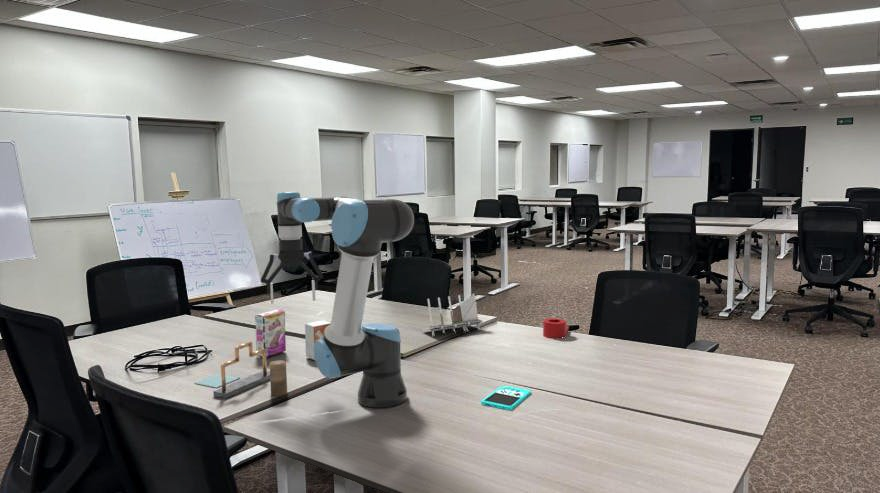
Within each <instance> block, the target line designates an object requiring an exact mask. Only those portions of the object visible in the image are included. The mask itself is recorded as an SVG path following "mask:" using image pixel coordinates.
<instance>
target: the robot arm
mask: <svg viewBox="0 0 880 493" xmlns="http://www.w3.org/2000/svg"><path fill="white" fill-rule="evenodd" d="M276 208H277V210H276V211H277V225H278V226H277V228H278V229H277V230H278V238H279V240H278V248H279V249H278V251H279V252H278V253H277V254H276V253H270V254H269V261H268V263H267V265H266V266H265V269H264V272H263V274H262V276H261V278H260V282H261V283H263V284H265V285H266V293H267V294H270V302H271V304H273V305H274V288H273V287H274V285H273V282H272V281H274V279H275V278H276V276H277V275H278V274H279V273H280V271H281V270H282V269H283V268H284V267H289V268H290V267H297V266H300V267H301V268H302V269H303V270H304V271H305V272H306V273H307V274H308V275H309V276H310V278H312V280H311V295H312V301H313V302H314V301H316V291H318V290H319V281H320V280H323V279H324V275H323V274H322V272H321V270H320V268H319V266H318V264H317V263H316V261H315V259H314V256H313V255H314V254H313V253H312V251H308V252H304V251H303V239H302V237H303V231H302V230H303V229H302V223H304V224H305V223H312V222H321V221H331V223H330V224H331V225H330V230H332V231H331V236H332V237H331V238H332V239H333V241H334V243H335V244H336V245H337V249H338V250H339V252H341V256H340V263H339V269H338V275H337V282H336V288H335V289H336V290H335V295H334V296H335V297H334V301H333V307H332V308H333V309H332V316H331V321H330V323H331V325H329V326H327V327H326V329H325V331H324V337H323V339H318V340H317V341H315V343H314V357H315V360H314V361H315V364H316V366H317V368H318V371H319V372H320V373H321V375H322V376H323V377H324V378H326V379H335V378H341V377H344V376H348V375H352V374H356V373H362V377H361V380H360V385H359V387H358V389H357V390H358V391H357V400H358V403H359V404H361V406H365V407H369V408H390V407H391V408H392V407H395V406H398V405H401V404H402V403H405V402H406V400H407V399H408V391H407V387H406V384H405V382H404V378H403V376H402V368H401V363H402V362H401V361H402V360H401V359H402V358H401V356H402V355H401V341H402V340H401V333H400V329H399V328H397V327H396V326H395V325H391V324H386V323H378V322H377V323H375V322H374V323H365V324H362V323H363V318H364V314H365V313H364V312H365V306H366V302H367V296H368V292H369V291H368V290H369V285H370V280H371V273H372V267H373V262H374V258H375V257H377V256H379V255H380V253H381V249H382V244H383V243H390V242H393V243H394V242H397V241H400V240H402V239H404V238H405V237H407V236H409V234H410V233H411V231H412V230H413V228H414V224H415V215H414V212H413V210H412V208H411V207H410V205H409V204H407V203H406V202H404V201H402V200H401V199H400V200H399V199H393V198H388V199H364V200H363V199H357V198H354V197H352V196H335V197H334V196H332V197H331V196H330V197H329V196H327V197H301V193H300V192H299V191H283V192H282V191H280V192H278V193H277V194H276ZM304 258H306V259H307V260H309V262H310V263H311V265H312V267H313V268H314V270H315V271H316V274H317V275H316V274H315V273H314V272H313V271H312V270H311V269H310V268H309V267H308V266H307V265H306V264H305V263H304V262H303V259H304ZM277 259H279V261H280V263H279V264H278V266H277V267H276V268H275V269H274V271H273V272H272V273H271V275H270V276H269V277H268V274H269V273H270V270H271V268H272V266H273V264H274V262H275V261H276V260H277ZM267 277H268V278H267Z"/></svg>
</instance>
